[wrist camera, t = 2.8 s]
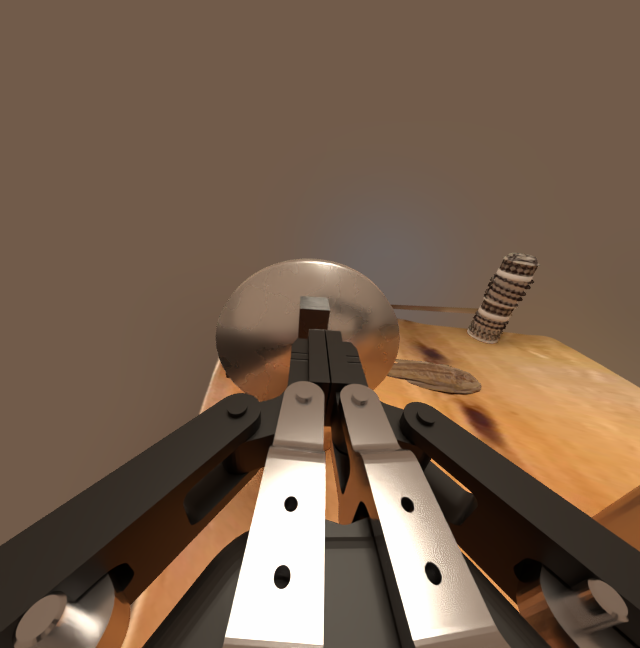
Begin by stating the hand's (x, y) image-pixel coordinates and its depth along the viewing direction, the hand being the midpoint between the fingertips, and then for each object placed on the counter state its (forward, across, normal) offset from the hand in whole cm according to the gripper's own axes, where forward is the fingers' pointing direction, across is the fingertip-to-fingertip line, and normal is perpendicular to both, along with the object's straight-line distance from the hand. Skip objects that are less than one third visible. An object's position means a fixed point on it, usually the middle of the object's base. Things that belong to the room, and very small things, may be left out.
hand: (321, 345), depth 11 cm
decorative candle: (+50, -56, +28) cm, 80 cm away
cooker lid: (+11, 0, +8) cm, 13 cm away
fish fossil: (+32, -28, +29) cm, 51 cm away
